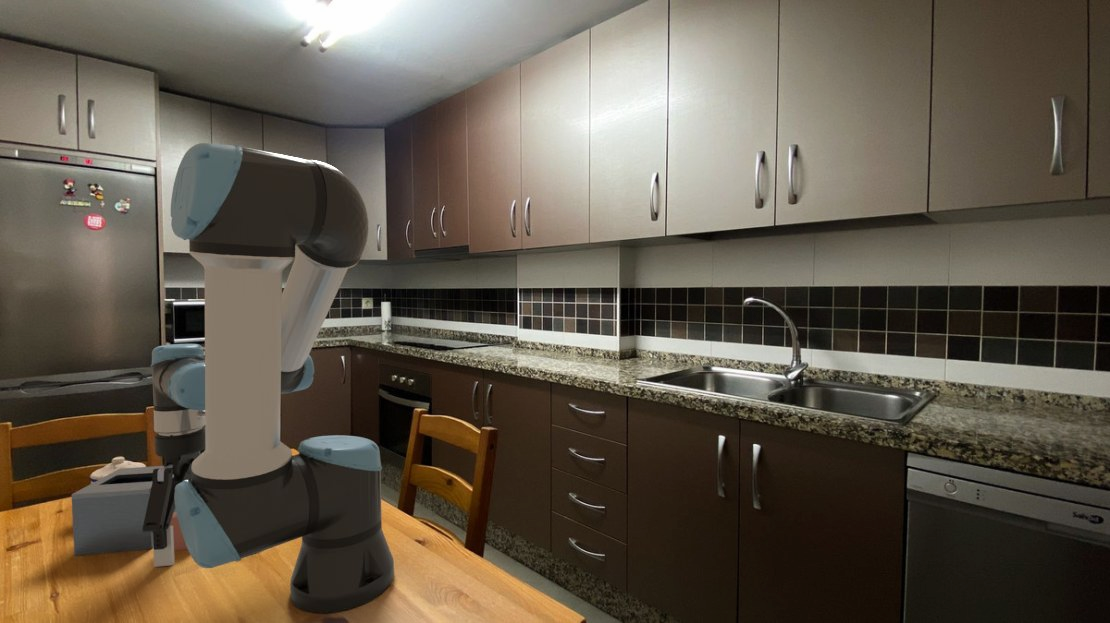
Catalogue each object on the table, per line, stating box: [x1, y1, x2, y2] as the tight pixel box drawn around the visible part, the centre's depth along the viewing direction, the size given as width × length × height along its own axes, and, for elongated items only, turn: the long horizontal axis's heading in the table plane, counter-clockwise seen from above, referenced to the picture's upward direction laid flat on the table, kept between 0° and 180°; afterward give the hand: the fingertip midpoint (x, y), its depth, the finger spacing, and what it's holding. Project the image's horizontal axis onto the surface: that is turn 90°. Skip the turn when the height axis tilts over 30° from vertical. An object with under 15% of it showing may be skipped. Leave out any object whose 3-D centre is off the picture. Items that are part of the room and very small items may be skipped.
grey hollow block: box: [71, 465, 176, 557], centre depth 96 cm, size 13×12×11 cm
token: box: [169, 512, 188, 551], centre depth 92 cm, size 2×6×6 cm, turn 101°
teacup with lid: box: [89, 456, 147, 484], centre depth 107 cm, size 12×9×12 cm
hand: (185, 545), depth 93 cm, fingers open, 13 cm apart
